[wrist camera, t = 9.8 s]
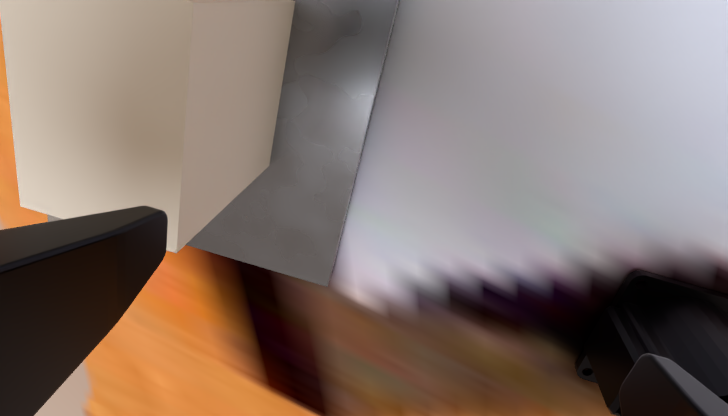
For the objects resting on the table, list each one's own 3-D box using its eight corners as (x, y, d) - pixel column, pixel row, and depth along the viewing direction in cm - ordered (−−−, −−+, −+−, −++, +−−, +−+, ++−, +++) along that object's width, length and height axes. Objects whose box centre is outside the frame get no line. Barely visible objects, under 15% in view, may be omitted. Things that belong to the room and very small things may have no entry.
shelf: (483, -339, 14) (493, -428, 11) (330, 278, 24) (314, 316, 21) (67, -435, 14) (-28, -543, 12) (88, 206, 24) (41, 234, 22)
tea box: (295, 1, 18) (193, 3, 11) (269, 165, 21) (176, 253, 14) (170, -33, 18) (-12, -54, 11) (162, 134, 21) (16, 205, 14)
